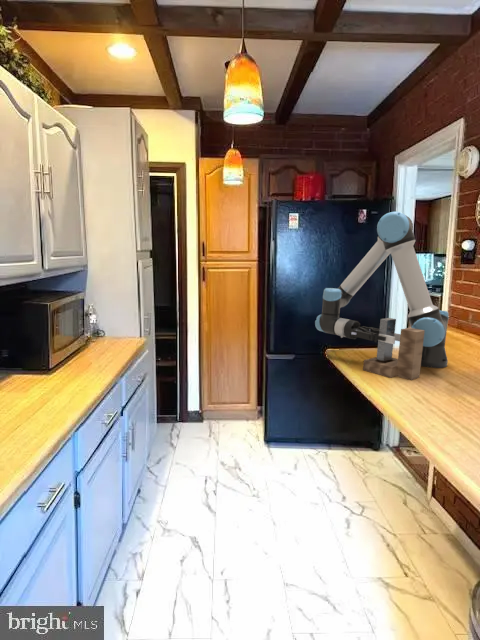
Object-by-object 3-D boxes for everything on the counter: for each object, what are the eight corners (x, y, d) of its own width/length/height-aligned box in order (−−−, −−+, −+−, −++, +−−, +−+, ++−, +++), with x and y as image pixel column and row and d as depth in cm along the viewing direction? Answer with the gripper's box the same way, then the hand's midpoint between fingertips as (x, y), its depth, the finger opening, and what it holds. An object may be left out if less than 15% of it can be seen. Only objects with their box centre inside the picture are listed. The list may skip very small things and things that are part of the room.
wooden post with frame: (362, 370, 172) (367, 324, 169) (382, 364, 181) (386, 321, 178) (405, 382, 158) (411, 333, 155) (424, 375, 167) (429, 329, 164)
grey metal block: (375, 359, 171) (379, 318, 169) (384, 357, 175) (388, 317, 172) (383, 361, 169) (388, 320, 166) (392, 359, 173) (396, 319, 170)
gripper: (360, 335, 190) (410, 346, 173) (333, 339, 178) (384, 352, 161) (362, 318, 189) (412, 327, 172) (334, 321, 177) (386, 332, 160)
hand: (399, 339), depth 167 cm, fingers closed on grey metal block, 6 cm apart
